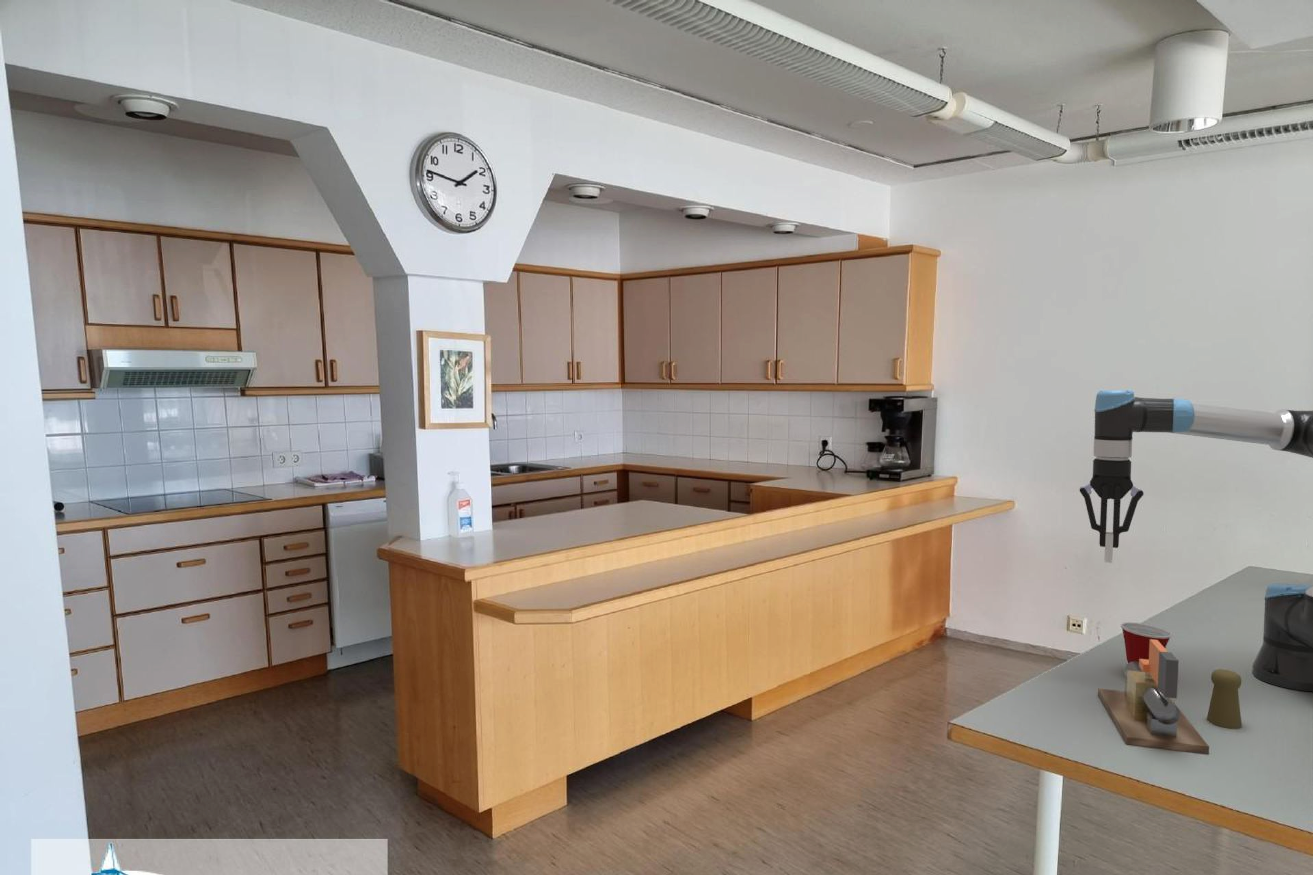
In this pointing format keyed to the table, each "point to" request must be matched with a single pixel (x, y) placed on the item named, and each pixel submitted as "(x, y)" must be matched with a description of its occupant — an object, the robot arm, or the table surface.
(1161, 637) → the plastic cup
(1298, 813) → the table surface
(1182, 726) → the mounting board
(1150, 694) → the valve body
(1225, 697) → the cork
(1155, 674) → the valve lever
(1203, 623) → the table surface
